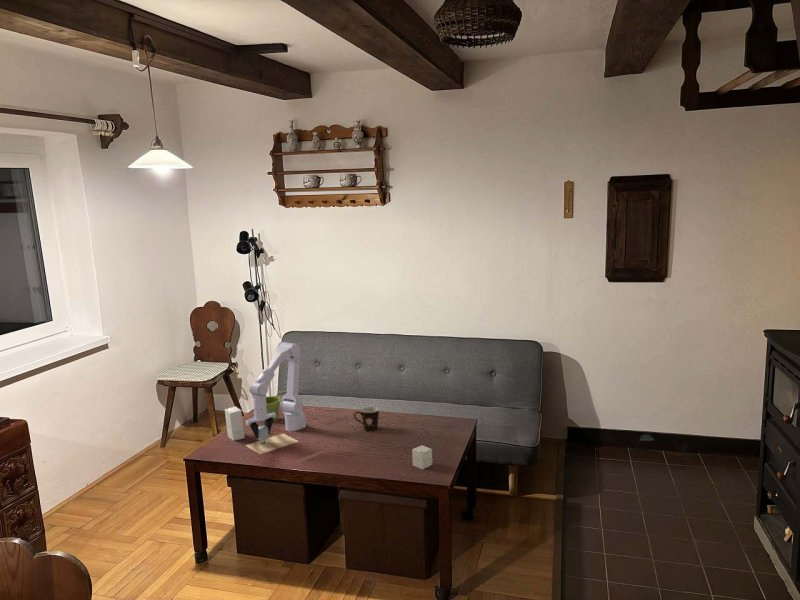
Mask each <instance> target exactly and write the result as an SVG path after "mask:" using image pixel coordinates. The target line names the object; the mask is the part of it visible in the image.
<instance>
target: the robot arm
mask: <svg viewBox="0 0 800 600" xmlns="http://www.w3.org/2000/svg"><path fill="white" fill-rule="evenodd" d="M301 352H302V351H301V346H300V345H299V344H298V343H293V342H286V341H285V342H284V341H280V342H278V343H277V346H276V348H275V354H274V355H273V358H272V359H271V361H270V363H269V365H268V366H267V367H266V368H264V369H262V371H261V373H260V375H259V376H258V377H257V379H256V380H255V381H254V382H252V383H251V384H250V387H249V393H250V395H251V397H252V401H253V413H254V414H253V415H254V416H253V417H251V418H248V419H246V420H245V425H246V426H249V427H250V429H251V430H252V432H253V435H254V438H255V439H257V438H258V437H259V436H258V427H259V426H260V425H259V424H258V423H260V422H263V423H264V426H267V427H268V435H271V429H272V426H273V424H274V423H275V422H274V419H272V418H273V417H274V418H275V417H276V413H274V412H273V413H269V414H267V406H266V397H267V396H266V395H267V393H268V392H269V387H270V383H271V382H272V381H273V379H274V377H275V374H276V373H275V371H276V370H277V369H278V368H279V365H281V363H282V362H283V361H284V360H287V361H288V367H287V368H288V369H287V378H286V379H287V380H286V382H287V384H286V393H285V394H284V395H283V396H282V399H281V401H280V410H281V411H282V412H283V415H284V425H285V430H286V431H288V432H296V431H299V430H302V429H304V428H306V427H307V422H306V414H305V412H304V411H303V407H304V406H303V398H302V397H301V395H299V383H300V382H299V379H300V368H301V367H300V366H301ZM263 420H264V421H263ZM273 422H274V423H273Z"/></svg>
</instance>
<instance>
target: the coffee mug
mask: <svg viewBox="0 0 800 600" xmlns="http://www.w3.org/2000/svg"><path fill="white" fill-rule="evenodd" d="M379 413H380V409H379V407H376V406H366V407H362V408H361V409H360V411H356V412H354V414H353V417H354V419H355V420H356V421H357V422H359V423H361V424H362V425H363V429H364V431H365V430H366V431H365V432H367V431H373V432H376V431H378V428H379V427H378V424H379V415H380V414H379ZM356 414H360V415H361V418H362V421H361V420H359V419H358V418H357V417H356ZM375 430H376V431H375Z"/></svg>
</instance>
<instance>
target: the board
mask: <svg viewBox="0 0 800 600" xmlns="http://www.w3.org/2000/svg"><path fill="white" fill-rule="evenodd" d="M296 443H299V440H297V439H295V438H293V437H291V436H289V435H287V434H285V433H280V434H277V435H273V436H270V437H268V438H267V439H266V444H263V445H261V444H260V440H258V441H255V442H252V443H248V444H246V445H244V446H245V447H247V448H249V449H250V450H252V451H254V452H255V453H256V454H259V455H263V454H266V453H268V452H271V451H272V452H273V451H274V450H278V449H280V448H283V447H286V446H289V445H292V444H296Z"/></svg>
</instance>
